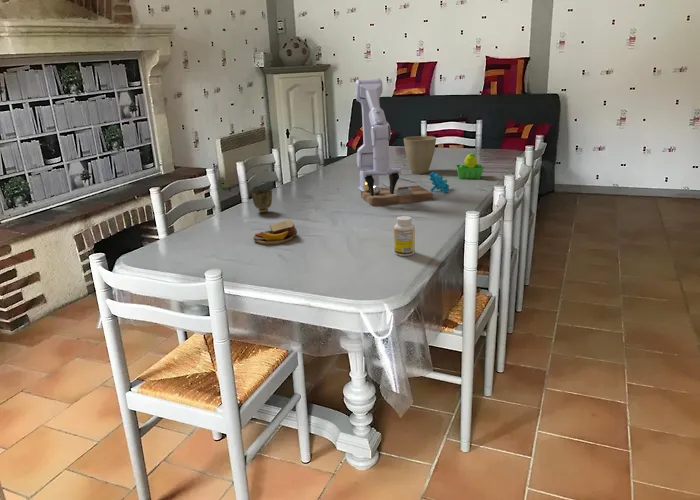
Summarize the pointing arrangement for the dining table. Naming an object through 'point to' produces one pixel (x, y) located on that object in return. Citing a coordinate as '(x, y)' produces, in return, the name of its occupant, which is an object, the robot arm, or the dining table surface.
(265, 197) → the cup
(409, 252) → the supplement bottle
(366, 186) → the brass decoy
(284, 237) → the toy sandwich meal
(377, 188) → the steel ball
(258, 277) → the dining table surface
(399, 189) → the cover
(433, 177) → the blue irregular figure
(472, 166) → the fruit basket
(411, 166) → the plant pot
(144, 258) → the dining table surface
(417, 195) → the wooden cutting board
